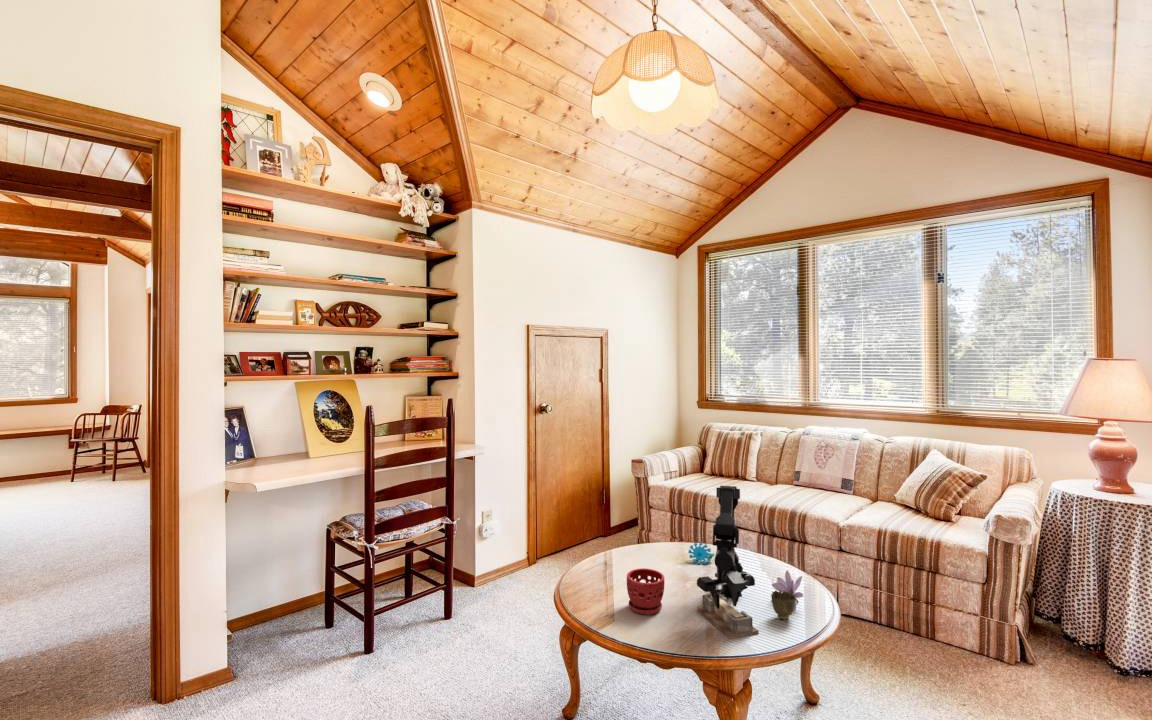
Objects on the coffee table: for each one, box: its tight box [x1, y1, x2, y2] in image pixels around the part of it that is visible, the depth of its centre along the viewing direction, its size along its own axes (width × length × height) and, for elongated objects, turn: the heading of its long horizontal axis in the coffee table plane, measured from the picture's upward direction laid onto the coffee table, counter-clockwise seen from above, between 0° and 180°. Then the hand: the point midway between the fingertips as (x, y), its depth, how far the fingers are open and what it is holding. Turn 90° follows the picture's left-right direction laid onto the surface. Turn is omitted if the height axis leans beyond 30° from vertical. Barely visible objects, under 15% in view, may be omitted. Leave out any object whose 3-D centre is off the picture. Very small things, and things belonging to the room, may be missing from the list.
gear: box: [688, 541, 716, 565], centre depth 235 cm, size 11×6×10 cm
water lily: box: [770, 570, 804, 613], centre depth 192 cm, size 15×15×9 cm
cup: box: [770, 590, 795, 621], centre depth 180 cm, size 8×7×8 cm
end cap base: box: [697, 593, 760, 639], centre depth 179 cm, size 21×10×5 cm, turn 16°
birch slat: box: [710, 597, 744, 621], centre depth 179 cm, size 16×3×4 cm, turn 16°
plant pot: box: [626, 567, 665, 615], centre depth 188 cm, size 13×13×12 cm
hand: (726, 607), depth 179 cm, fingers open, 6 cm apart
